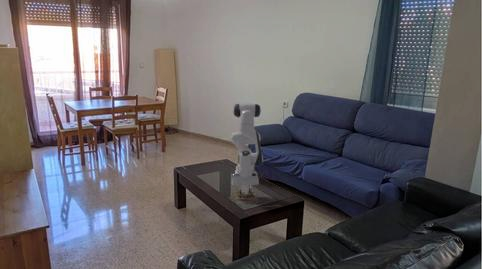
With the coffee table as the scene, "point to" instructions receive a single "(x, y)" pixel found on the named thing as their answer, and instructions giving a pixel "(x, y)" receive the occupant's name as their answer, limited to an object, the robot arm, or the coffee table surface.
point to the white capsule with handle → (245, 190)
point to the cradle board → (245, 197)
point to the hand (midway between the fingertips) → (245, 190)
